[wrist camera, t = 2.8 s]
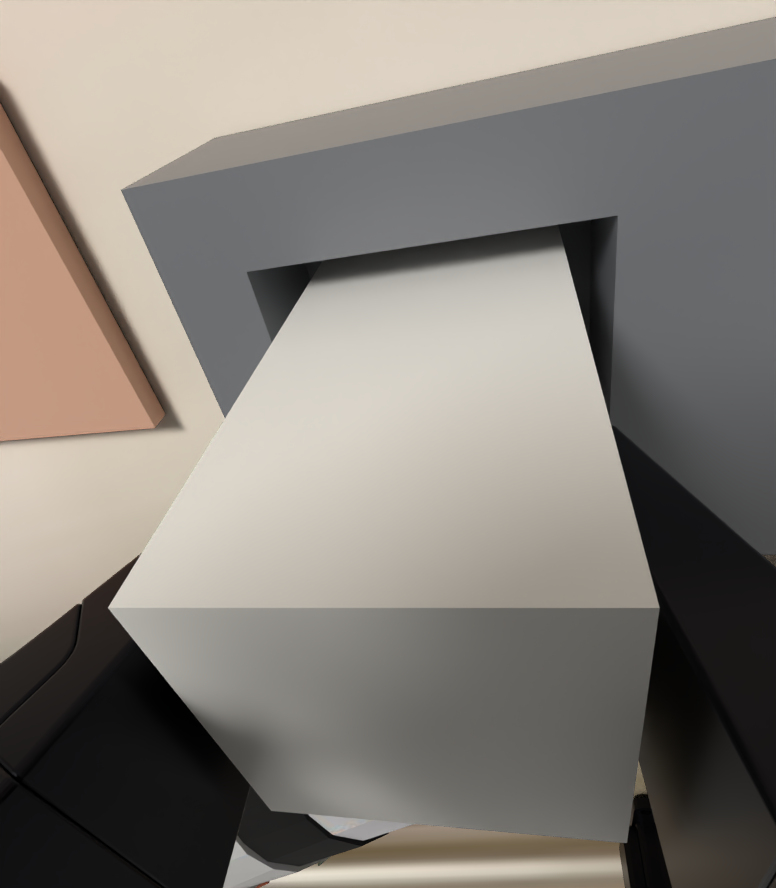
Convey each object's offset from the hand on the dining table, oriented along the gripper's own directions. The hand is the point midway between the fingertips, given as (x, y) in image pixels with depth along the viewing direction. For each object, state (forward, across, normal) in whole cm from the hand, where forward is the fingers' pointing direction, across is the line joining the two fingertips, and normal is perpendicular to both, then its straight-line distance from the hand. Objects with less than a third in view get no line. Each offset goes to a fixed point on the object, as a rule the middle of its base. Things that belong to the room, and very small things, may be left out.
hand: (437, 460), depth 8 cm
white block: (+4, 0, 0) cm, 4 cm away
